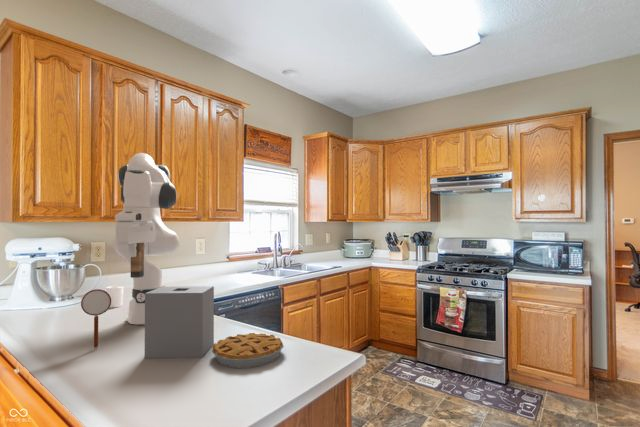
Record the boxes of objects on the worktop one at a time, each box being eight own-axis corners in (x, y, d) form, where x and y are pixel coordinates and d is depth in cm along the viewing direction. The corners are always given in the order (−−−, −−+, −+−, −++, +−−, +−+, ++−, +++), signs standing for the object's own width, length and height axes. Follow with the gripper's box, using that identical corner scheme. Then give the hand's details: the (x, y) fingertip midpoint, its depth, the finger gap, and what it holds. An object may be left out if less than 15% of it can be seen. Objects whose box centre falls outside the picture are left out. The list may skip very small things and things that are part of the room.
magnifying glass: (111, 347, 121) (111, 287, 122) (110, 348, 120) (111, 288, 120) (81, 350, 118) (81, 290, 118) (80, 352, 116) (80, 290, 117)
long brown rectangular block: (135, 276, 124) (135, 230, 125) (143, 276, 124) (144, 230, 125) (130, 277, 121) (130, 230, 122) (139, 277, 121) (139, 230, 122)
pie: (297, 356, 112) (297, 340, 112) (236, 377, 97) (236, 359, 97) (257, 340, 128) (257, 326, 128) (199, 356, 112) (199, 340, 112)
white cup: (122, 307, 180) (122, 287, 181) (104, 308, 177) (104, 288, 178) (124, 304, 188) (124, 285, 188) (107, 305, 185) (107, 286, 185)
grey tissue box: (161, 345, 123) (161, 286, 124) (213, 344, 123) (213, 286, 124) (144, 358, 111) (144, 293, 112) (202, 357, 111) (202, 292, 112)
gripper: (143, 216, 134) (143, 253, 133) (111, 215, 113) (111, 259, 113) (160, 216, 134) (159, 253, 133) (131, 215, 113) (131, 259, 113)
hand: (137, 256), depth 123 cm, fingers closed on long brown rectangular block, 3 cm apart
